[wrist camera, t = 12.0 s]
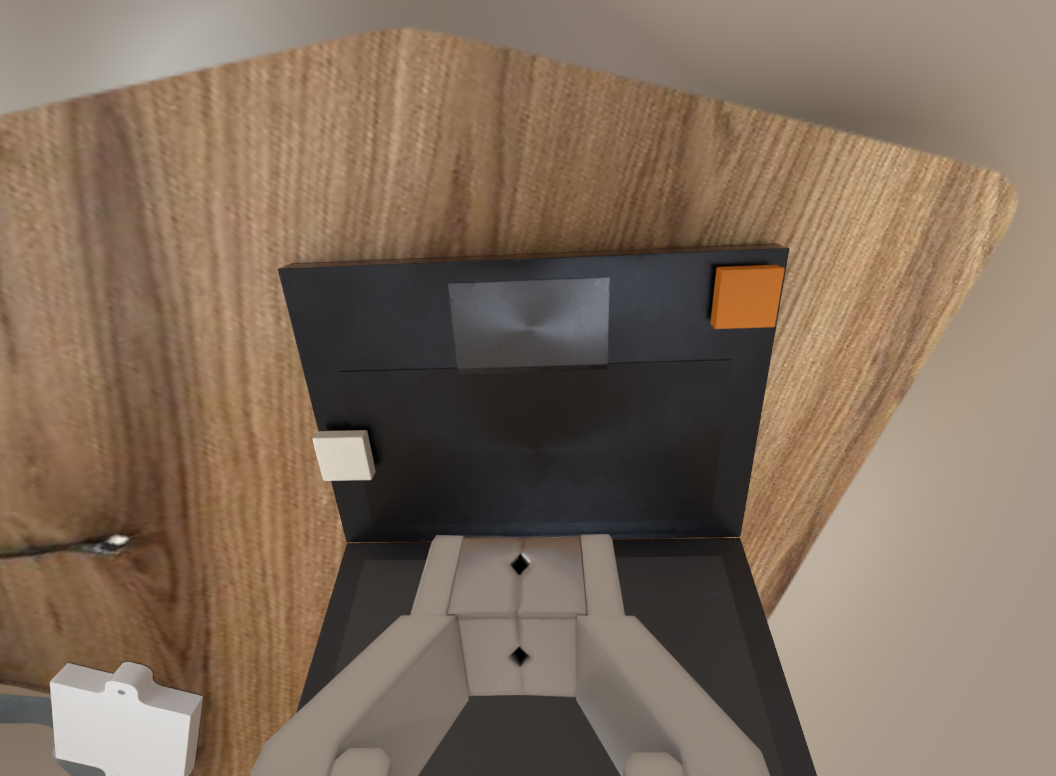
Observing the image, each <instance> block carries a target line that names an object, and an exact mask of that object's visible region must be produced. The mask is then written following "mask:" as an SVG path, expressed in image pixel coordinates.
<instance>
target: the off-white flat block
mask: <svg viewBox="0 0 1056 776" xmlns="http://www.w3.org/2000/svg"><path fill="white" fill-rule="evenodd" d="M312 440H313V443H314V447H315V451H316V455H317V459H318V463H319V466H320V470H321V474H322V478H323V481H343V480H371V479H372V478H373V476H374V474H375V472H376V471H375V466H374V461H373V457H372V452H371V447H370V442H369V437H368V432H367V430H353V431H319V432H317V434H316V435H315V436H314V437H313V438H312Z"/></svg>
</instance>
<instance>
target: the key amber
mask: <svg viewBox="0 0 1056 776" xmlns="http://www.w3.org/2000/svg"><path fill="white" fill-rule="evenodd" d="M784 270H785V268H783V267H781V266H779V265H757V266H731V267H717V270H716V279H715V287H714V296H713V305H712V314H711V323H710V324H711V325H712V326H713V327H714V328H715V329H732V328H762V327H775V323H776V317H777V311H778V305H779V299H780V293H781V287H782V281H783V276H784Z"/></svg>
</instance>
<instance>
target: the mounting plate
mask: <svg viewBox="0 0 1056 776" xmlns="http://www.w3.org/2000/svg"><path fill="white" fill-rule="evenodd" d="M50 690H51V702H52V714H53V727H54V739H55V751H56V758H58V759H63V760H67V761H72V762H76V763H81V764H85V765H89V766H94V767H98V768H100V769H102V770H103V771H104V772H105V774H106V776H189V775H190V773H191V772H192V770H193V768H194V766H195V758H196V750H197V742H198V734H199V726H200V718H201V710H202V702H203V696H200V695H196V694H192V693H188V692H184V691H180V690H176V689H172V688H168V687H164V686H161V685H158V684H157V683H155V682H154V680H153V672H152V671H151V669H149V668H148V667H146V666H144V665H140V664H136V663H132V662H124V663H122V665H121V666H120V667H119V668H118V669H117V671H116V672H115V673H114V674H112V673H107V672H103V671H99V670H95V669H91V668H87V667H83V666H79V665H75V664H71V663H67V664H66V666H65V667H64V668H63V669H62V670H61V671H60V672H59V673H58V674H57V675H56V676H55V677H54V678H53V679H52V680H51V681H50Z"/></svg>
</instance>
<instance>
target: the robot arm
mask: <svg viewBox="0 0 1056 776" xmlns="http://www.w3.org/2000/svg"><path fill="white" fill-rule="evenodd" d="M522 694H523V695H538V696H564V697H576V700H577V702H578V704H579V705H580V707H581V709H582V711H583V712H584V714H585V716H586V717H587V719H588V721H589V722H590V724H591V726H592V728H593V729H594V731H595V733H596V734H597V736H598V738H599V739H600V741H601V743H602V745H603V746H604V748H605V750H606V751H607V753H608V755H609V756H610V758H611V760H612V762H613V763H614V765H615V767H616V768H617V770H618V772H619V774H620V775H621V776H770V774H769V772H768V769H767V766H766V763H765V760H764V758H763V755H762V752H761V751H760V750H759V749H758V747H757V746H756V745H755V744H754V743H753V742H752V741H751V740H750V739H749V738H748V737H747V736H746V735H745V734H744V732H743V731H742V730H741V729H740V728H739V727H738V726H737V725H736V724H735V723H734V722H733V721H732V720H731V719H730V717H729V716H728V715H727V714H726V713H725V712H724V711H723V710H722V709H721V708H720V707H719V706H718V705H717V704H716V703H715V701H714V700H713V699H712V698H711V697H710V696H709V695H708V694H707V693H706V692H705V691H704V690H703V689H702V688H701V686H700V685H699V684H698V683H697V682H696V681H695V680H694V679H693V678H692V677H691V676H690V675H689V674H688V673H687V671H686V670H685V669H684V668H683V667H682V666H681V665H680V664H679V663H678V662H677V661H676V660H675V659H674V658H673V656H672V655H671V654H670V653H669V652H668V651H667V650H666V649H665V648H664V647H663V646H662V645H661V644H660V643H659V641H658V640H657V639H656V638H655V637H654V636H653V635H652V634H651V633H650V632H649V631H648V630H647V629H646V628H645V626H644V625H643V624H642V623H641V622H640V621H639V620H638V619H637V618H636V617H635V616H625V613H624V607H623V601H622V595H621V589H620V583H619V578H618V572H617V566H616V560H615V554H614V549H613V543H612V538H611V537H610V535H609V534H591V535H580V536H579V535H550V536H488V535H465V536H452V535H436V537H435V538H434V540H433V541H432V543H431V546H430V550H429V553H428V557H427V560H426V563H425V567H424V570H423V574H422V577H421V580H420V584H419V587H418V591H417V594H416V598H415V601H414V604H413V608H412V611H411V615H401V616H400V617H399V618H398V619H397V620H396V621H395V622H394V623H392V624H391V625H390V626H389V627H388V628H387V629H386V630H385V631H384V632H383V633H382V634H381V635H380V636H379V637H378V638H376V639H375V640H374V641H373V642H372V643H371V644H370V645H369V646H368V647H367V648H366V649H365V650H364V651H363V652H361V653H360V654H359V655H358V656H357V657H356V658H355V659H354V660H353V661H352V662H351V663H350V664H349V665H348V666H347V667H345V668H344V669H343V670H342V671H341V672H340V673H339V674H338V675H337V676H336V677H335V678H334V679H333V680H332V681H331V682H329V683H328V684H327V685H326V686H325V687H324V688H323V689H322V690H321V691H320V692H319V693H318V694H317V695H316V696H315V697H313V698H312V699H311V700H310V701H309V702H308V703H307V704H306V705H305V706H304V707H303V708H302V709H301V710H300V711H298V712H297V713H296V714H295V715H294V716H293V717H292V718H291V719H290V720H289V721H288V722H287V723H286V724H285V725H284V726H282V727H281V728H280V729H279V730H278V731H277V732H276V733H275V734H274V735H273V736H272V737H271V738H270V739H269V740H268V741H266V742H265V744H264V746H263V748H262V750H261V752H260V754H259V756H258V758H257V761H256V763H255V765H254V767H253V769H252V771H251V773H250V775H249V776H418V775H419V773H420V772H421V770H422V769H423V767H424V766H425V764H426V763H427V761H428V760H429V758H430V757H431V755H432V754H433V752H434V751H435V749H436V748H437V746H438V745H439V743H440V742H441V741H442V739H443V738H444V736H445V735H446V733H447V732H448V730H449V729H450V727H451V726H452V724H453V723H454V721H455V720H456V718H457V717H458V715H459V714H460V712H461V711H462V709H463V708H464V706H465V705H466V703H467V702H468V700H469V698H468V696H491V695H522Z"/></svg>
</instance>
